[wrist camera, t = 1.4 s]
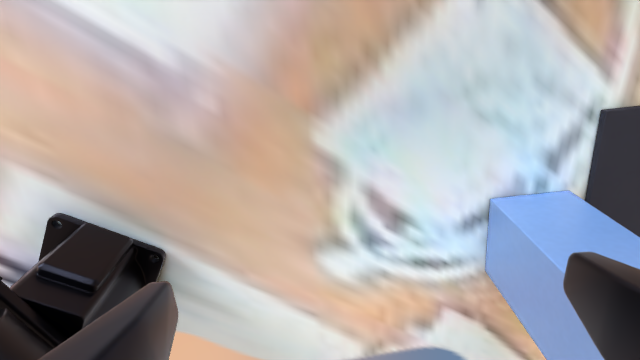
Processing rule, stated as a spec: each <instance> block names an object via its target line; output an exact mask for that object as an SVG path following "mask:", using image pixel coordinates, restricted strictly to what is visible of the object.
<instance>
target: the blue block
mask: <svg viewBox="0 0 640 360" xmlns="http://www.w3.org/2000/svg"><path fill="white" fill-rule="evenodd" d="M588 251H589V252H594V253H597V254H600V255H603V256H605V257H608V258H611V259H613V260H616V261H619V262H621V263H624V264H627V265H630V266H632V267H635V268H638V269H640V237H638V236H637V235H635V234H634V233H632V232H631V231H629V230H628V229H626V228H625V227H623V226H622V225H620V224H619V223H617V222H616V221H614V220H613V219H611V218H610V217H608V216H607V215H605V214H604V213H602V212H601V211H599V210H598V209H596V208H595V207H593V206H592V205H590V204H589V203H587V202H586V201H584V200H583V199H581V198H580V197H578V196H577V195H575V194H574V193H572V192H571V191H560V192H550V193H540V194H531V195H521V196H511V197H502V198H492V199H490V210H489V224H488V238H487V252H486V266H485V271H486V273H487V274H488V275H489V277H490V278H491V280H492V281H493V283H494V284H495V286H496V287H497V289H498V290H499V291H500V293H501V294H502V296H503V297H504V299H505V300H506V302H507V303H508V304H509V306H510V307H511V309H512V310H513V312H514V313H515V315H516V316H517V317H518V319H519V320H520V322H521V323H522V325H523V326H524V328H525V329H526V331H527V332H528V333H529V335H530V336H531V338H532V339H533V341H534V342H535V344H536V345H537V346H538V348H539V349H540V351H541V352H542V354H543V355H544V357H545V358H546V359H547V360H604V359H603V357H602V356H601V354H600V352H599V351H598V349H597V348H596V346H595V344H594V343H593V341H592V339H591V337H590V336H589V334H588V332H587V331H586V329H585V327H584V325H583V324H582V322H581V320H580V319H579V317H578V315H577V313H576V312H575V310H574V308H573V306H572V305H571V303H570V301H569V300H568V298H567V296H566V294H565V292H564V288H563V280H564V275H565V271H566V266H567V261H568V258H569V256H570V255H571V254H572V253H574V252H588Z"/></svg>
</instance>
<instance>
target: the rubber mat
mask: <svg viewBox="0 0 640 360" xmlns="http://www.w3.org/2000/svg"><path fill="white" fill-rule="evenodd" d="M585 201H586V202H587V203H589V204H590V205H592V206H593V207H595V208H596V209H598V210H599V211H601V212H602V213H604V214H605V215H607V216H608V217H610V218H611V219H613V220H614V221H616V222H617V223H619V224H620V225H622V226H623V227H625V228H626V229H628V230H629V231H631V232H632V233H634V234H635V235H637V236H638V237H640V106H634V107H624V108H615V109H606V110H601V115H600V120H599V126H598V132H597V137H596V143H595V149H594V154H593V160H592V166H591V171H590V177H589V183H588V188H587V194H586V200H585Z"/></svg>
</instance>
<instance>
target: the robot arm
mask: <svg viewBox="0 0 640 360" xmlns="http://www.w3.org/2000/svg"><path fill="white" fill-rule="evenodd" d="M57 221H59V222H61V224H62V225H60V224H58V222H57ZM153 255H156V256H158V258H159V259H157V258H154V257H153ZM165 257H166V255H165V252H164V251H163V250H162V249H160V248H157V247H154V246H152V245H149V244H146V243H143V242H140V241H138V240H135V239H132V238H129V237H127V236H124V235H121V234H119V233H116V232H113V231H110V230H107V229H105V228H102V227H99V226H96V225H93V224H91V223H87V222H85V221H82V220H79V219H76V218H73V217H71V216H68V215H65V214H61V213H57V214H55V215H53V216H52V217H51V218H49V220H48V222H47V227H46V231H45V235H44V240H43V244H42V249H41V253H40V258H39V262H38V263H37V264H36V265H35V266H34V267H32V268H31V269H30V270H29V271H28V272H27V273H26V274H25V275H23V276H22V277H21V278H20V279H19V280H18V281H17V282H16V283H14V284H13V285H12V286H11V287H10V288H9V287H8V286H7V285H5V284H4V283H3V282H2V281H1V280H2V279H3V278H2V277H0V360H169V356H170V351H171V347H172V343H173V339H174V335H175V331H176V326H177V322H178V309H177V305H176V301H175V297H174V293H173V289H172V286H171V284H170V283H169V282H167V281H163V282H157V279H158V277H159V274H160V271H161V268H162V266H163V263H164V260H165ZM563 288H564V292H565V294H566V296H567V298H568V300H569V301H570V303H571V305H572V306H573V308H574V310H575V312H576V313H577V315H578V317H579V319H580V320H581V322H582V324H583V325H584V327H585V329H586V331H587V332H588V334H589V336H590V337H591V339H592V341H593V343H594V344H595V346H596V348H597V349H598V351H599V352H600V354H601V356H602V357H603V359H604V360H640V269H638V268H635V267H632V266H630V265H627V264H624V263H621V262H619V261H616V260H613V259H611V258H608V257H605V256H603V255H600V254H597V253H594V252H589V251H588V252H574V253H572V254H571V255H570V256H569V258H568V261H567V266H566V271H565V275H564V280H563Z"/></svg>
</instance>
